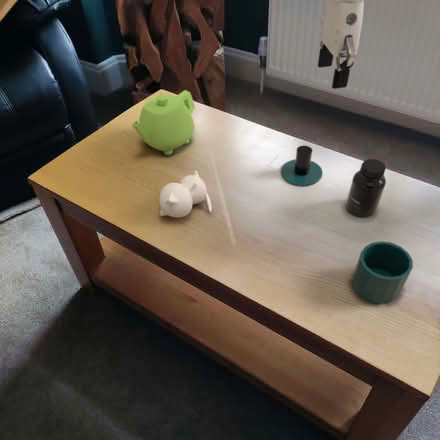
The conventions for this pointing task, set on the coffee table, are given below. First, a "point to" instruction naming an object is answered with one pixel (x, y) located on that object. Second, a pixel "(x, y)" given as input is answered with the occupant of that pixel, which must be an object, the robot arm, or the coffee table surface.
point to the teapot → (166, 121)
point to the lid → (302, 168)
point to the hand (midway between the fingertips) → (331, 76)
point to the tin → (381, 272)
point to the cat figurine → (183, 196)
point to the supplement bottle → (366, 189)
